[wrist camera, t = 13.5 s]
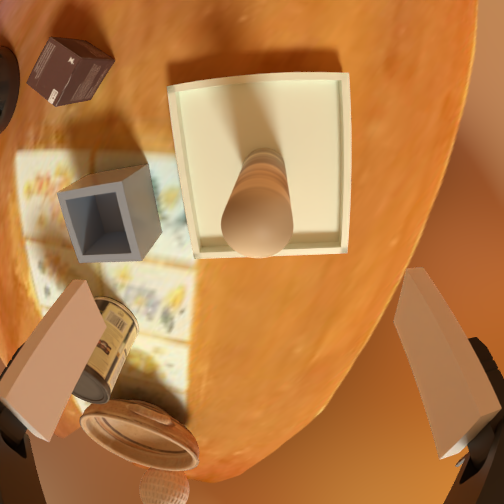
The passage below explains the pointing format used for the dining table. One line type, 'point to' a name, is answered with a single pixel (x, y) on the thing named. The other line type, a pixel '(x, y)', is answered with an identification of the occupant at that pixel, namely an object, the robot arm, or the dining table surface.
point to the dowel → (259, 207)
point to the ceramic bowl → (141, 434)
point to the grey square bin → (111, 215)
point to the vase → (164, 487)
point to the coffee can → (107, 352)
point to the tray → (266, 136)
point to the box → (69, 71)
